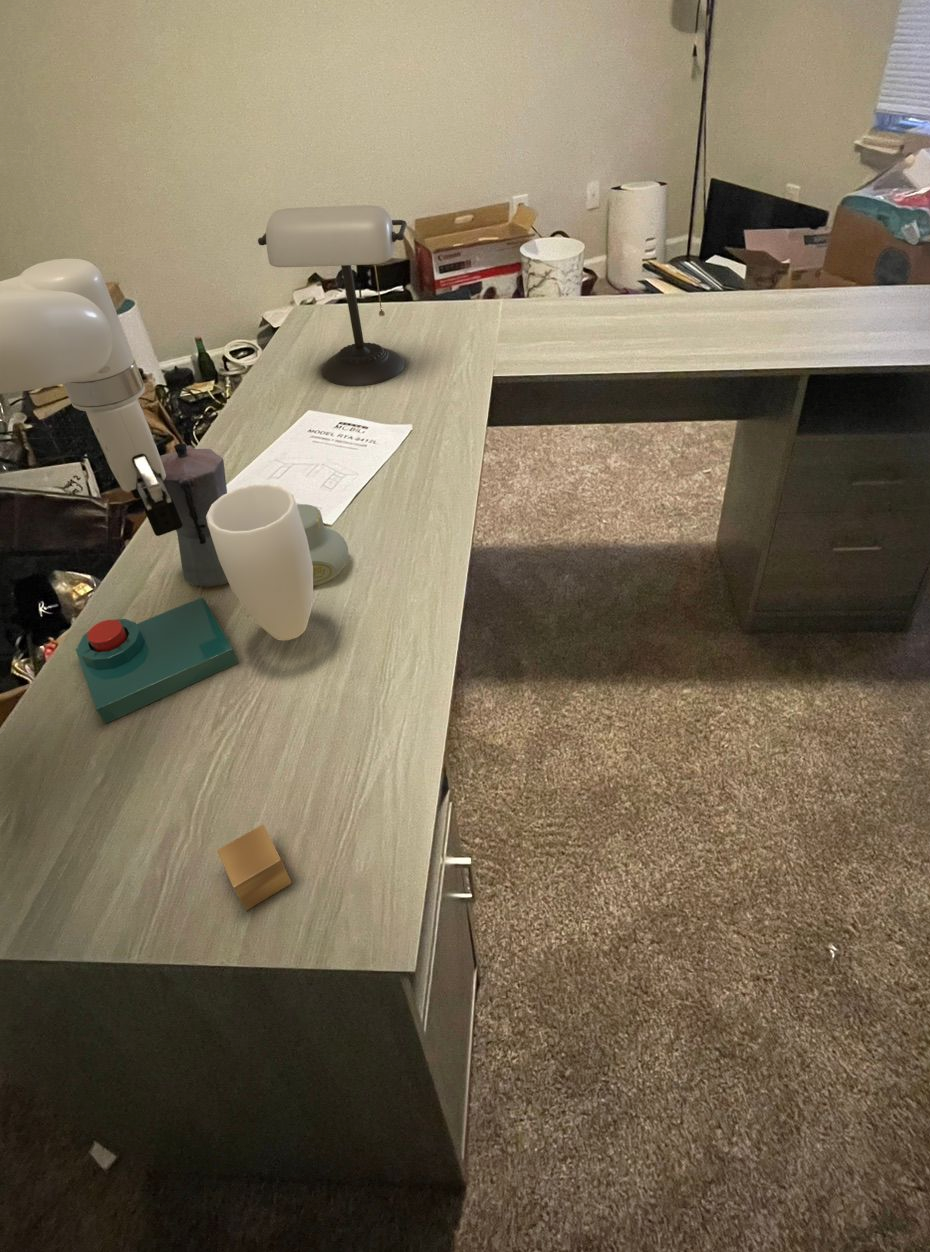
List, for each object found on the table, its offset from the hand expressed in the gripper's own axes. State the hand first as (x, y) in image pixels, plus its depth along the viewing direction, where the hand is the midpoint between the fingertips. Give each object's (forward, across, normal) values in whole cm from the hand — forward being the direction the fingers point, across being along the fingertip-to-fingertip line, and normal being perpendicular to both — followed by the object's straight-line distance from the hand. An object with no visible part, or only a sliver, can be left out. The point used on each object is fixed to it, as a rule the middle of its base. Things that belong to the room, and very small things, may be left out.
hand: (158, 511), depth 90 cm
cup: (+16, +15, +8) cm, 23 cm away
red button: (+12, +5, -11) cm, 17 cm away
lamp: (+16, -52, +51) cm, 75 cm away
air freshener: (+16, +3, +16) cm, 23 cm away
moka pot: (+16, -6, +5) cm, 18 cm away
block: (+16, +43, -7) cm, 46 cm away
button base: (+16, +8, -7) cm, 19 cm away
